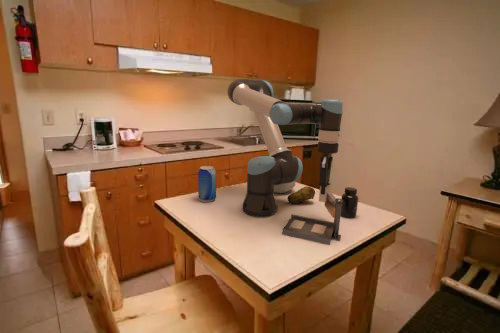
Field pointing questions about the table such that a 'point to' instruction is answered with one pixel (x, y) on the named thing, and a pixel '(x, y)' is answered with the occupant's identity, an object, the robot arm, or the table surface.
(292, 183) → the cereal bowl
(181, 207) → the table surface
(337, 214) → the post
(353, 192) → the supplement bottle
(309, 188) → the potato
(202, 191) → the beer can
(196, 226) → the table surface
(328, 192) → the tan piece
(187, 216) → the table surface
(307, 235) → the metal plate with cutouts
